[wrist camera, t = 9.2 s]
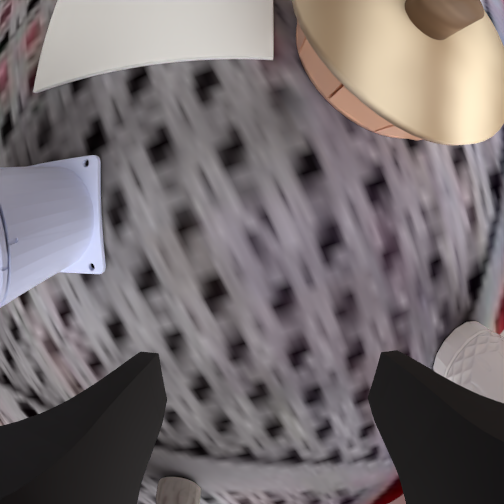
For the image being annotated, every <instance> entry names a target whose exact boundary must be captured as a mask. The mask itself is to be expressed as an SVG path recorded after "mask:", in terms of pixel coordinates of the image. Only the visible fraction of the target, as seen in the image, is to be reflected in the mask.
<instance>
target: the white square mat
mask: <svg viewBox="0 0 504 504" xmlns="http://www.w3.org/2000/svg"><path fill="white" fill-rule="evenodd" d="M216 59H259V60H273V0H58V1H57V4H56V6H55V9H54V12H53V15H52V18H51V21H50V24H49V27H48V30H47V34H46V37H45V40H44V44H43V48H42V52H41V56H40V60H39V64H38V69H37V74H36V79H35V84H34V90H33V92H34V93H39V92H42V91H45V90H48V89H51V88H54V87H57V86H60V85H63V84H66V83H70V82H73V81H77V80H80V79H84V78H88V77H92V76H96V75H100V74H105V73H109V72H114V71H119V70H124V69H130V68H136V67H142V66H148V65H156V64H164V63H172V62H183V61H196V60H216Z"/></svg>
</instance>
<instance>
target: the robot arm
mask: <svg viewBox="0 0 504 504" xmlns="http://www.w3.org/2000/svg"><path fill="white" fill-rule="evenodd" d="M87 160H88V161H89V165H88V166H86V161H87ZM91 263H92V264H93V265H94V266H95V269H93V268H92V266H91ZM105 269H106V263H105V254H104V243H103V230H102V214H101V161H100V158H99V157H98V156H97V155H89V156H82V157H75V158H69V159H63V160H57V161H52V162H46V163H41V164H36V165H31V166H27V167H0V308H1V307H3V306H4V305H6V304H7V303H9V302H10V301H12V300H13V299H15V298H17V297H18V296H20V295H21V294H23V293H25V292H26V291H28V290H29V289H31V288H33V287H34V286H36V285H38V284H39V283H41V282H43V281H44V280H46V279H48V278H50V277H51V276H53V275H55V274H56V273H58V272H68V273H87V274H101V273H103V272H104V271H105ZM368 400H369V404H370V407H371V411H372V414H373V417H374V421H375V423H376V425H377V428H378V430H379V432H380V434H381V436H382V439H383V441H384V443H385V445H386V447H387V450H388V452H389V454H390V456H391V458H392V461H393V463H394V465H395V467H396V470H397V473H398V475H399V478H400V481H401V485H402V489H403V493H404V496H405V501H406V504H504V403H501V402H498V401H495V400H493V399H490V398H487V397H485V396H482V395H479V394H477V393H475V392H472V391H470V390H468V389H466V388H464V387H462V386H460V385H458V384H456V383H454V382H452V381H451V380H449V379H447V378H445V377H443V376H441V375H440V374H438V373H436V372H434V371H433V370H431V369H429V368H428V367H426V366H424V365H423V364H421V363H419V362H417V361H416V360H414V359H412V358H410V357H409V356H407V355H405V354H403V353H401V352H399V351H389V352H381V355H380V359H379V363H378V366H377V370H376V373H375V376H374V380H373V383H372V386H371V389H370V393H369V396H368ZM166 403H167V397H166V393H165V388H164V382H163V377H162V372H161V366H160V360H159V354H158V353H148V352H140V353H138V354H136V355H135V356H134V357H132V358H131V359H129V360H128V361H127V362H125V363H124V364H122V365H121V366H120V367H118V368H117V369H116V370H114V371H113V372H111V373H110V374H109V375H107V376H106V377H104V378H103V379H101V380H100V381H99V382H97V383H96V384H94V385H92V386H91V387H89V388H88V389H86V390H84V391H83V392H81V393H80V394H78V395H76V396H75V397H73V398H71V399H70V400H68V401H66V402H64V403H62V404H60V405H58V406H56V407H54V408H52V409H50V410H47V411H45V412H43V413H40V414H38V415H35V416H32V417H29V418H26V419H24V420H21V421H18V422H15V423H11V424H7V425H3V426H0V504H137V500H138V495H139V490H140V486H141V482H142V479H143V476H144V473H145V470H146V467H147V464H148V462H149V459H150V456H151V453H152V451H153V448H154V445H155V442H156V440H157V437H158V434H159V431H160V428H161V426H162V422H163V417H164V413H165V408H166Z"/></svg>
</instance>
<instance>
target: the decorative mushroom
mask: <svg viewBox="0 0 504 504" xmlns="http://www.w3.org/2000/svg"><path fill="white" fill-rule="evenodd" d="M200 496H201V488H200V487H199V486H198V485H197V484H196V483H194V482H192V481H191V480H188V479H184V478H180V477H164V478H161V479H160V481H159V482H158V488H157V494H156V504H200Z"/></svg>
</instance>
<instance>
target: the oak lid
mask: <svg viewBox="0 0 504 504" xmlns="http://www.w3.org/2000/svg"><path fill="white" fill-rule="evenodd" d="M292 4H293V8H294V13H295V15H296V18H297V20H298V23H299V25H300V28H301V29H302V31H303V33H304V35H305V37H306V39H307V40H308V42H309V44H310V45H311V47H312V48H313V50H314V51H315V52H316V54H317V55H318V57H319V58H320V60H321V61H322V62H323V63H324V64H325V66H326V67H327V68H328V69H329V70H330V72H331V73H332V74H333V75H334V76H335V77H336V78H337V79H338V80H339V81H340V82H341V83H342V84H343V85H344V87H345V88H346V89H347V90H349V91H350V92H351V93H352V94H353V95H354V96H355V97H356V98H358V99H359V100H360V101H361V102H362V103H363V104H364V105H366V106H367V107H368V108H370V109H371V110H372V111H374V112H375V113H376V114H377V115H379V116H380V117H382V118H383V119H385V120H386V121H388V122H389V123H391V124H392V125H394V126H396V127H397V128H399V129H401V130H403V131H405V132H407V133H409V134H411V135H413V136H416V137H418V138H421V139H423V140H426V141H430V142H433V143H437V144H443V145H464V144H475V143H479V142H482V141H485V140H487V139H488V138H490V137H492V136H493V135H494V134H495V133H496V132H497V131H499V130H500V128H501V127H502V125H503V124H504V46H503V44H502V41H501V39H500V37H499V35H498V33H497V31H496V29H495V27H494V25H493V23H492V22H491V20H490V18H489V17H488V15H487V14H486V12H485V11H484V9H483V6H482V4H481V2H480V0H292Z"/></svg>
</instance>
